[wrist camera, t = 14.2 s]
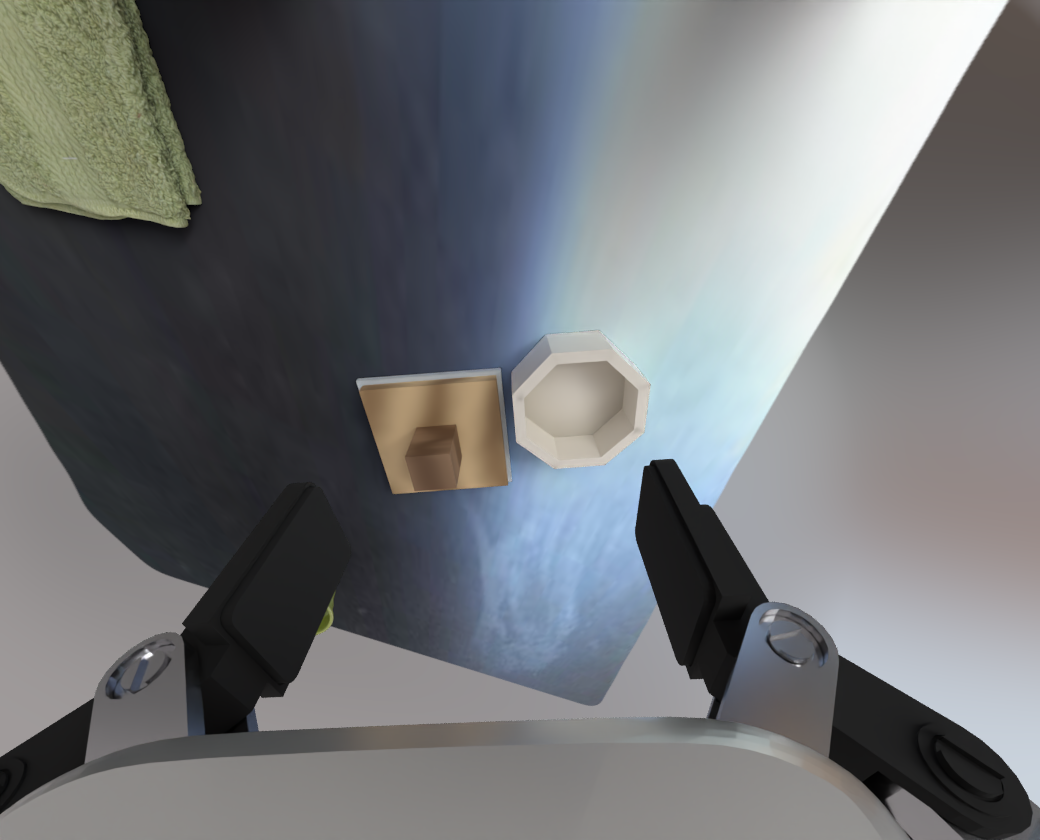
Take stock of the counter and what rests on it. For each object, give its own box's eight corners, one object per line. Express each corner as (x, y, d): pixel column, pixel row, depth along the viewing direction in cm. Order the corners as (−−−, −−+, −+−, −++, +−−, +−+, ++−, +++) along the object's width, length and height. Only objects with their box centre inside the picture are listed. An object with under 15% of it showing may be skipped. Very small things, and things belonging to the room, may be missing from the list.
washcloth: (37, 210, 28) (-14, 211, 25) (-157, -178, 19) (-270, -242, 16) (218, 228, 29) (188, 231, 26) (114, -130, 20) (53, -183, 17)
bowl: (636, 327, 34) (655, 345, 30) (626, 434, 40) (640, 462, 36) (508, 337, 34) (508, 356, 30) (517, 442, 40) (518, 471, 36)
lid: (496, 374, 35) (494, 405, 30) (507, 478, 42) (508, 518, 37) (363, 385, 35) (337, 417, 30) (395, 486, 42) (379, 528, 37)
